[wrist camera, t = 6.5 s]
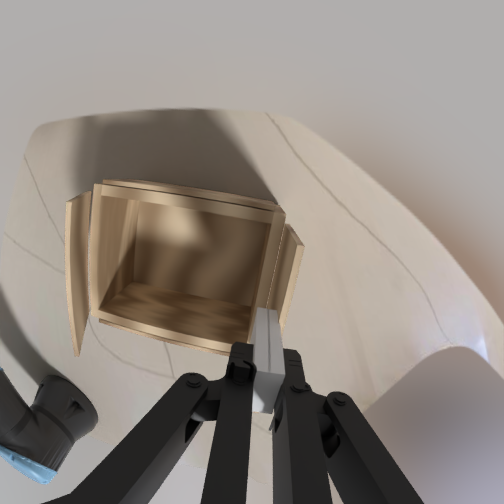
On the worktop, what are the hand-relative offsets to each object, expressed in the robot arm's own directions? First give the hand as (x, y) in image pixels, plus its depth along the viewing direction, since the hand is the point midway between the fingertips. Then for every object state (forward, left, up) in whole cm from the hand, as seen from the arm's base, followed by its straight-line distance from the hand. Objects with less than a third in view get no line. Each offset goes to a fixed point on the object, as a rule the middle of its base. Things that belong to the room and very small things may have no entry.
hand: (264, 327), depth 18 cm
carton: (-8, 0, -17) cm, 19 cm away
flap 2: (+1, 0, -2) cm, 2 cm away
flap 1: (-16, 0, -3) cm, 16 cm away
